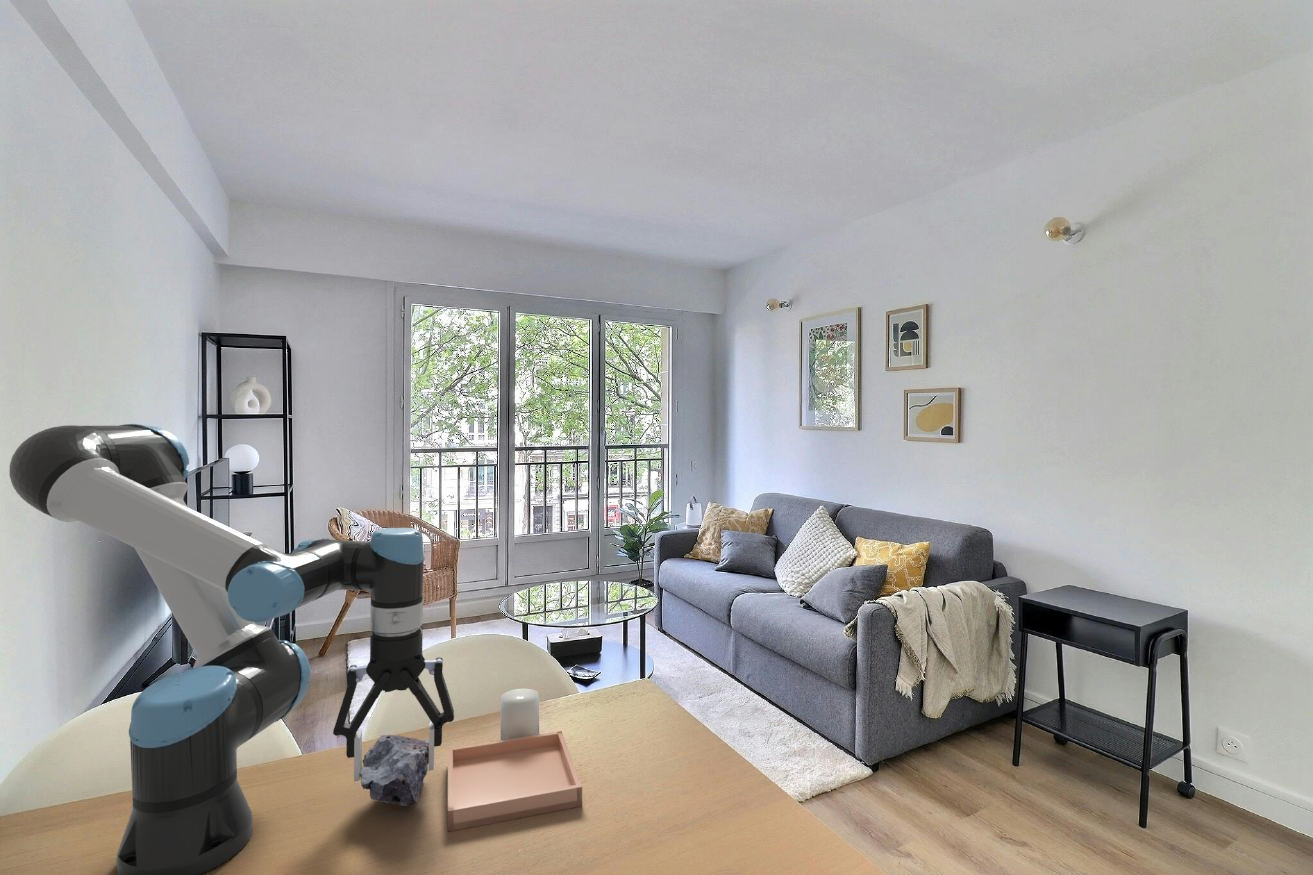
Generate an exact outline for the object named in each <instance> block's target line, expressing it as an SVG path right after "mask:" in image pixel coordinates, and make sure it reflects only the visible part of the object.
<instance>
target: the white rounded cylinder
mask: <svg viewBox="0 0 1313 875" xmlns="http://www.w3.org/2000/svg"><path fill="white" fill-rule="evenodd" d="M539 700H540V694H539V692H538V691H537V690H535V689H532V688H531V689H530V688H516V689H511V690H508V691H506V692H504V693H502V694H501V696H500V700H499V702H500V740H507V739H513V738H520V737H526V736H533V735H539V734H540V701H539Z"/></svg>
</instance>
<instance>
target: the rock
mask: <svg viewBox="0 0 1313 875" xmlns="http://www.w3.org/2000/svg"><path fill="white" fill-rule="evenodd" d="M428 772H429V739H426V740H425V739H424V740H422V739H419V738H418V739H417V738H414V737H407V736H403V735H397V734H396V735H393V734H387V735H384V734H382V735H380V737H379V738H378V739H377V740H376V741H375V743H374V744H373V746H372V747H369V749H368V750H367V752H366V753H365V754H364V757H363V759H362V768H361V771H360V784H361V788H362V789H363V790H365V789H366V790H369V797H370V799H371V800H374V801H377V802H383V803H385V804H393V805H399V806H402V807H410V806H415V805H418V802H419V801H420V792H421V791H422V788H423V787H424V784H425V783H424V780H425V777H426V776H427V773H428Z"/></svg>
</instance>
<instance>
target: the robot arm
mask: <svg viewBox="0 0 1313 875" xmlns="http://www.w3.org/2000/svg"><path fill="white" fill-rule="evenodd" d="M189 465H190V458H189V454H188V452H187V449H186V448H185V445H183V442H181V440H180V439H179V438H178V437H176V436H175V435H174V434H173V433H171V432H170V431H168V430H166V429H163V428H161V427H158V426H153V425H152V426H151V425H143V424H137V423H129V424H127V423H125V424H120V425H74V424H73V425H61V426H60V425H58V426H53V427H49V428H46V429H43V430H41V431H38V432H36V433H34V434H32V435H31V436H29V437H28V438H27V439H25V440H24V441H23V442H22V443H21V444H20V445H19V446H18V447H17V448H16V450H15V451H14V453H13V455H12V457H11V459H10V462H9V479H10V482H11V485H12V487H13V489H14V490H15V493H16V494H18V495H19V497H20V498H21V499H22V500H23V501H25V502H26V503H27V504H28V505H30V506H31V507H33V508H34V509H36V510H37V511H39V512H42V513H43V514H45V515H48V516H49V517H52V518H53V519H55V520H58V521H60V522H63V523H64V522H65V523H72V522H78V521H79V522H81V523H83V524H84V525H87V526H89V527H91V528H93V529H95V530H96V531H97V530H98V531H99V532H100V533H104V534H106V535H107V536H110V537H112V538H113V539H116V540H117V541H120V542H122V543H124V544H126V545H128V546H130V547H132V548H134V549H135V552H136V553H137V556H138V557H139V558H140V560H141V562H142V563H143V565H144V566H145V568H146V571H147V572H148V574H149V576H150V577H151V579H152V581H153V582H154V584H155V586H156V588H157V590H158V591H159V593H160V595H161V597H162V598H163V600H164V602H165V603H166V605H167V607H168V609H169V610H170V612H171V614H172V615H173V617H174V619H175V621H176V622H177V624H178V626H179V627H180V630H181V631H182V632H183V634H184V635H185V638H186V639H187V641H188V643H189V644H190V647H191V648H192V650H193V652H194V653H195V655H196V660H195V662H194V664H193V666H192V668H188V669H186V670H184V671H182V672H175V673H172V674H169V675H167V676H165V677H163V678H161V679H159V680H157V681H155V682H154V683H152V684H150V685H149V686H147V687H146V688H145V689H143V691H142V692H140V694H138V696H137V697H136V698H135V699H134V702H133V703H132V706H131V709H130V710H131V711H130V712H131V713H130V714H131V716H130V723H129V728H128V737H129V741H130V742H129V743H130V744H129V746H130V765H131V766H130V767H131V768H130V770H131V793H132V808H131V813H130V816H129V819H128V822H127V825H126V827H125V831H124V832H123V836H122V839H121V842H120V844H119V847H118V849H117V854H116V875H203V874H206V873H207V872H210V871H212V870H213V869H215V868H217V867H219V866H221V865H222V864H224V863H226V862H227V861H228V860H230V859H231V858H233V857H234V856H235V855H237V854H238V853H239V852H240V851H242V849H243V848H244V847H245V846H246V845H247V843H249V841H250V839H251V837H252V834H253V828H254V827H253V814H252V813H253V812H252V809H251V807H250V806H249V803H248V801H247V799H246V796H245V794H244V792H243V790H242V788H241V785H240V783H239V781H238V765H237V764H238V762H237V760H238V758H237V752H238V748H239V747H241V746H242V745H243V744H245V743H247V742H248V741H250V740H251V739H252V738H254V737H255V736H256V735H258V734H260V733H261V732H263V731H264V730H265V729H267V728H269V727H270V726H271V725H273V724H274V723H276V722H278V721H281V719H283V718H285V717H287V715H289V713H290V712H291V711H292V710H293V709H295V708H296V707H297V706H298V705H299V704H300V703H301V701H302V700H303V699H304V698H305V696H306V694H307V692H308V689H309V685H310V683H311V676H312V675H311V672H312V671H311V666H310V661H309V658H308V656H307V655H306V653H305V652H304V650H303V649H302V648H301V647H300V646H299V645H297V644H296V643H291V642H290V641H288V640H285V639H284V640H283V639H282V640H281V639H280V640H279V639H278V637H277V636H276V634H275V633H274V631H273V629H272V627H270V626H264V625H260V624H259V625H258V624H257V623H261V622H262V623H263V622H267V621H270V620H273V619H276V618H279V617H282V616H286V615H289V614H290V613H292V612H293V611H294V610H296V609H298V608H300V607H302V606H305V605H307V604H309V603H311V602H314V601H316V600H318V599H321V598H323V597H326V596H328V595H329V594H332V593H334V592H336V591H362V592H363V591H364V592H365V591H369V592H370V593H369V594H370V619H369V620H370V622H369V623H370V624H369V629H370V630H371V631H372V632H371V633H370V636H369V637H370V639H369V661H368V663H367V665H361V666H357V665H356V664H352V665H350V666H349V668H348V670H347V673H346V683H347V686H346V690H345V693H344V696H343V699H342V703H341V705H340V708H339V712H338V714H337V715H338V716H337V718H336V721H335V724H334V728H333V731H332V734H333V735H334V736H335V737H336V736H337V737H338V736H344V737H345V739H346V749H345V750H346V752H345V753H346V754H345V755H346V758H347V759H352V758H353V782H357V781H358V782H359V781H361V779H360V778H361V777H360V771H361V768H362V767H363V729H360V727H361V726H362V724H363V722H364V721H365V719H366V717H367V715H368V714H369V712H370V711H371V709H372V707H373V706H374V704H375V702H376V701H377V699H378V698H379V697H380V696H381V695H380V694H381V693H382V691H383V692H384V693H391V692H394V691H400V692H401V691H408V690H409V691H410V693H411V694H412V695H413V696H414V697H415V698H416V700H417V702H418V703H419V704H420V706H421V707H422V708H421V709H423V711H424V713H425V714H426V715H427V717H428V719H429V720H430V721H429V726H428V741H429V763H428V772H429V771H434V770H435V747H441V746H442V743H443V727H444V725H445V724H446V723H452V722H453V721H454V719H455V711H454V706H453V702H452V700H451V697H450V696H451V695H450V694H449V690H448V687H447V683H446V679H445V677H444V674H443V670H444V669H443V668H444V660H443V658H442V657H441V656H438V657H436V658H435V659H425V657H424V654H423V629H422V628H421V626H422V625H423V622H424V617H423V616H424V595H423V591H424V590H423V588H424V587H423V585H424V562H425V555H424V554H425V553H424V540H423V534H422V533H421V531H420V530H418V529H416V528H410V527H389V528H380V529H377V530H375V531H374V532H373V533H372V534H371V537H370V538H371V539H370V540H369V541H362V540H361V541H360V540H346V539H345V540H341V539H331V538H323V537H322V538H319V539H305V540H303V541H301V542H299V543H298V545H297V547H295V548H294V549H293V550H292V552H290V553H284V552H281V551H279V550H278V549H275V548H274V547H271V546H268V545H266V544H265V543H263V542H260V541H258V540H256V539H254V538H253V537H249V536H248V535H246V534H244V533H242V532H239V531H238V530H235V529H233V528H231V527H230V526H227V525H225V524H224V523H221V522H219V521H217V520H215V519H213V518H211V517H209V516H206V515H205V514H203V513H200V512H198V511H196V510H195V509H192V508H190V507H188V505H187V504H186V502H185V501H184V498H185V496H186V493H187V491H188V489H189V485H188V483H187V481H186V479H187V477H188V475H189V471H190V470H189V469H188V466H189ZM425 669H427V670H428V674H429V675H431V676H433V681H434V683H435V687H436V688H435V689H436V691H437V693H438V697H439V700H440V705H441V707H442V711H443V712H441V711H440V710H439V709H438V707H437V705H436V704H435V702H434V700H433V699H432V698H431V696H430V695H429V693H428V691H427V690H426V688H425V687H424V685H423V684H422V681H421V679H420V675H421V674H422V672H424V670H425ZM365 675H368V677H369V679H370V680H372V682H373V684H372V686H371V689H370V690H369V691H368V693H367V695H366V697H365V699H364V700H363V702H362V704H360V707H358V710H357V712H356V714H355V715H354V717H353V718H352V719H351V721H350V723H346V721H347V718H348V714H349V711H350V709H351V708H350V707H351V705H352V703H353V702H352V701H353V699H354V695H355V692H356V688H357V685H358V683H360V682H362V680H363V678H364V676H365ZM407 689H408V690H407Z"/></svg>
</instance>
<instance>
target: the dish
mask: <svg viewBox="0 0 1313 875" xmlns="http://www.w3.org/2000/svg"><path fill="white" fill-rule="evenodd" d="M579 807H583V785H582V782H581V780H580V776H579V774H578V771H577V769H576V767H575V764H574V761H573V759H572V756H571V752H570V750H569V747H568V745H567V742H566V740H565V737H564V733H563V732H562V730H560V731H554V732H553V731H552V732H548V733H541V734H540V733H539V735H533V736H526V737H520V738H513V739H507V740H501V739H500V740H496V741H495V740H494V741H488V742H483V743H476V744H467V745H463V746H461V745H460V746H456V747H450V748H447V832H455V831H459V830H463V829H469V828H474V827H479V826H484V825H490V824H497V823H500V822H505V821H512V820H516V819H517V820H518V819H521V818H526V817H532V816H536V815H537V816H538V815H543V814H549V813H553V812H559V811H562V810H569V809H573V808H579Z"/></svg>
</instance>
